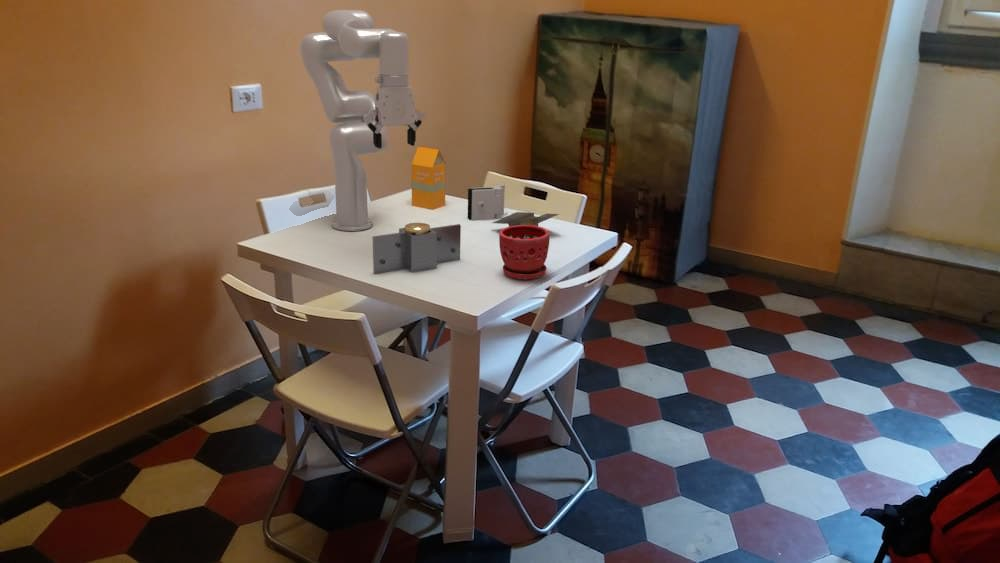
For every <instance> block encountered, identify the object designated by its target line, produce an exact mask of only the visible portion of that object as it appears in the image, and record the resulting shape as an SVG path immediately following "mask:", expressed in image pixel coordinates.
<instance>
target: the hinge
mask: <svg viewBox="0 0 1000 563" xmlns="http://www.w3.org/2000/svg"><path fill="white" fill-rule="evenodd" d="M505 186H506V184H500V185H497V186H494V187H493V186H488V187H487V186H486V187H470V188H467V220H468V221H472V222H473V221H490V220H491V221H492V220H500V219H502V216H503V215H504V214H505V191H506V187H505Z"/></svg>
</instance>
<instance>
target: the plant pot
mask: <svg viewBox="0 0 1000 563" xmlns="http://www.w3.org/2000/svg"><path fill="white" fill-rule="evenodd" d="M498 236H499V237H498V240H499V241H498V243H499V252H500V256H501V259H502V262H503V263H504V264H503V265H502V271H503V273H504V274H505V275H506V276H508V277H510V278H513V279H517V280H522V281H524V280H533V279H537V278H539V277H542V276H544V275H545V273H546V272H547V270H548V269H547V266H546V265H545V262H546V261H547V258H548V254H549V253H548V252H549V247H550V232H549V230H548V229H546V228H544V227H542V226H540V225H538V226H533V225H516V226H510V227H509V226H507V227H504V228H502V229H501V230H500V231H499V234H498ZM525 236H528V238H525Z"/></svg>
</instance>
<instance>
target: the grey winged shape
mask: <svg viewBox="0 0 1000 563" xmlns="http://www.w3.org/2000/svg"><path fill="white" fill-rule="evenodd" d="M558 215H560V213H544V214H542V215H540V216H535V212H523V211H522V212H520V211H516V212H513V213H511V214H509V215H506V216H505V217H501V219H496V220H495V221H493V222H491V224H499V225H500V224H503V225H505V224H507V225H508V227H510V226H516V225H533V226H539V224H540V223H543V222H545V221H547V220H549V219H551V218H554V217H557V216H558Z"/></svg>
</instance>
